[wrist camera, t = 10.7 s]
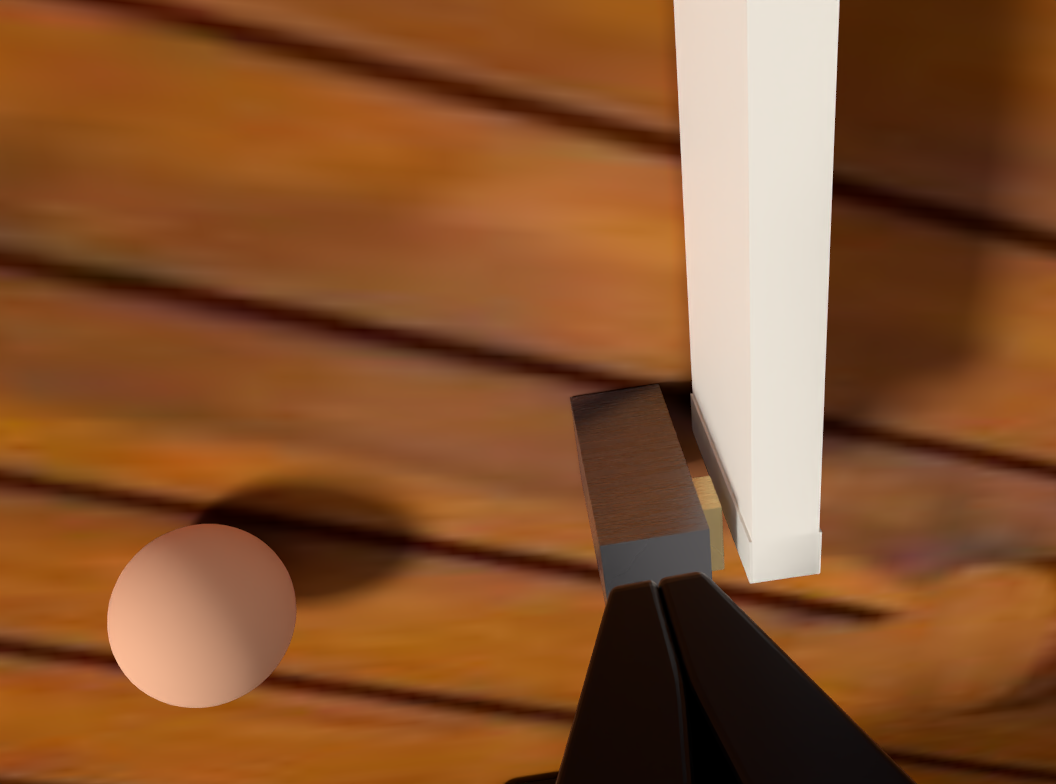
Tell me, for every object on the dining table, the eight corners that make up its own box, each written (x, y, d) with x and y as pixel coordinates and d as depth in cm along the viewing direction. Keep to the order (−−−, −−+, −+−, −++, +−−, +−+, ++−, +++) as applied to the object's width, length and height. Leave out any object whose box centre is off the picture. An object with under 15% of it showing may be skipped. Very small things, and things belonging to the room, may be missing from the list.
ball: (284, 742, 20) (290, 667, 24) (303, 557, 20) (305, 511, 24) (80, 739, 20) (120, 661, 23) (96, 545, 19) (133, 499, 23)
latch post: (684, 466, 23) (737, 619, 19) (581, 481, 23) (612, 638, 19) (678, 380, 22) (734, 525, 18) (570, 397, 22) (599, 546, 18)
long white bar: (661, -175, 16) (741, -158, 12) (742, -187, 16) (850, -176, 11) (692, 430, 22) (749, 583, 18) (749, 421, 22) (820, 573, 18)
